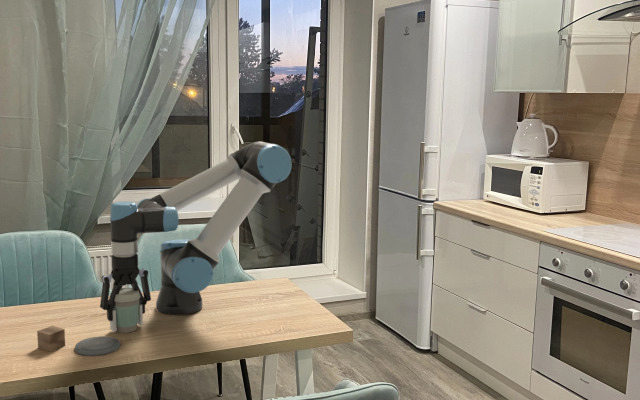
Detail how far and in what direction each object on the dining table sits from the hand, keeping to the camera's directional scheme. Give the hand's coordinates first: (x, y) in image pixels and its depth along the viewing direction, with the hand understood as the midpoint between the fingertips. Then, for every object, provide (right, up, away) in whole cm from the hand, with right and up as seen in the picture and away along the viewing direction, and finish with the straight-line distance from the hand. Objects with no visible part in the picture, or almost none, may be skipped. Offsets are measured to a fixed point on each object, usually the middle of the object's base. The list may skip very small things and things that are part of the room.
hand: (126, 327), depth 192 cm
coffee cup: (0, -1, 0) cm, 1 cm away
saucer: (-4, -3, -14) cm, 14 cm away
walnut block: (-17, -3, -14) cm, 22 cm away
